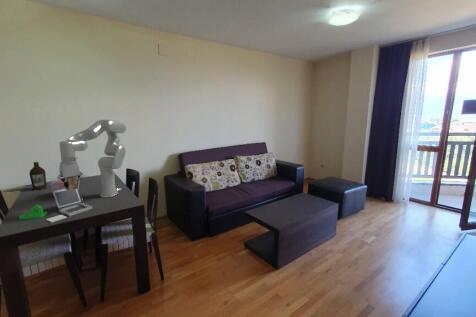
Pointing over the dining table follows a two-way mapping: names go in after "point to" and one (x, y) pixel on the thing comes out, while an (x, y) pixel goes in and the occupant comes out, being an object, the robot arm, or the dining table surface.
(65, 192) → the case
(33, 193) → the dining table surface
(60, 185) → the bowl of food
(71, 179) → the block
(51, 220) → the mat
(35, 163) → the olive oil
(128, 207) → the dining table surface
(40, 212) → the mechanical part
